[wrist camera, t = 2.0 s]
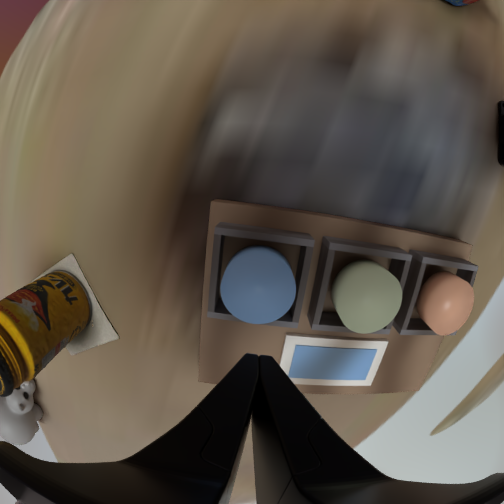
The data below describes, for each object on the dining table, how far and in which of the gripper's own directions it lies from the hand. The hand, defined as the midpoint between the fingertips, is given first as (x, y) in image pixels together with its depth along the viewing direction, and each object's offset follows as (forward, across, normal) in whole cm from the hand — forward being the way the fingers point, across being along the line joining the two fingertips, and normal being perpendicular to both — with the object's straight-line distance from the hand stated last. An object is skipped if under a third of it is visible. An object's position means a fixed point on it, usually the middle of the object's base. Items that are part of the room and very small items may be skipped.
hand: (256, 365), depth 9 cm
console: (+12, -6, +3) cm, 14 cm away
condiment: (+12, +16, +7) cm, 22 cm away
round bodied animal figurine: (+12, +28, +24) cm, 39 cm away
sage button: (+9, -6, 0) cm, 11 cm away
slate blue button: (+9, 0, 0) cm, 9 cm away
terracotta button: (+9, -13, 0) cm, 16 cm away
